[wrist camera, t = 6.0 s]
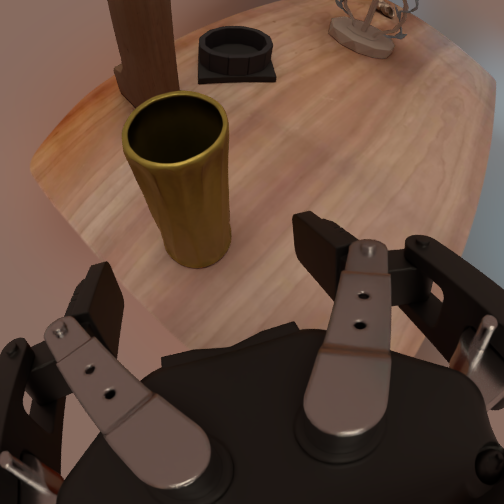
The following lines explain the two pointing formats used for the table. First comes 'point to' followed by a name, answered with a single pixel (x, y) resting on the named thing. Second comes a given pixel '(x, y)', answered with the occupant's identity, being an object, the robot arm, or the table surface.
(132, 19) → the wooden block
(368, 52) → the table lamp
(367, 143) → the table surface
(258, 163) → the table surface
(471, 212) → the table surface
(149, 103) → the vase
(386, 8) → the ornament
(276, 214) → the table surface
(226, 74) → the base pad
